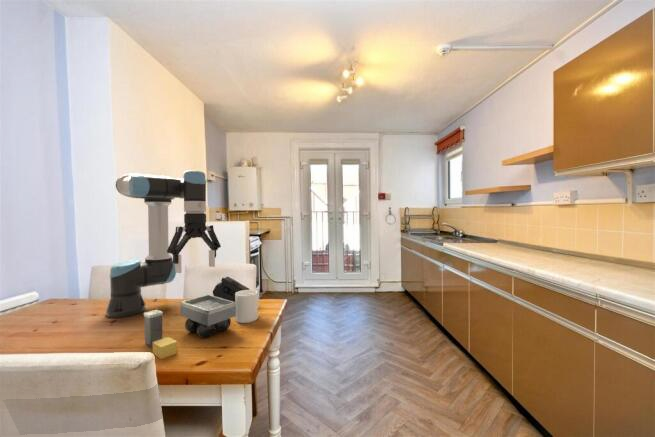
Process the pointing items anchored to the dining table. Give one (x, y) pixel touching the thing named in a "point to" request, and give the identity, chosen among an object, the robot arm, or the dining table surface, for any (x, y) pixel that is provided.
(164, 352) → the block
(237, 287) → the tool
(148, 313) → the grey tall block
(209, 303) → the grey open rectangular container
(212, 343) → the dining table surface
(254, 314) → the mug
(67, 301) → the dining table surface
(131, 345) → the dining table surface
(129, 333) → the dining table surface
